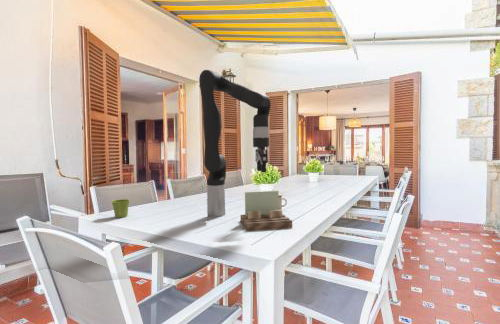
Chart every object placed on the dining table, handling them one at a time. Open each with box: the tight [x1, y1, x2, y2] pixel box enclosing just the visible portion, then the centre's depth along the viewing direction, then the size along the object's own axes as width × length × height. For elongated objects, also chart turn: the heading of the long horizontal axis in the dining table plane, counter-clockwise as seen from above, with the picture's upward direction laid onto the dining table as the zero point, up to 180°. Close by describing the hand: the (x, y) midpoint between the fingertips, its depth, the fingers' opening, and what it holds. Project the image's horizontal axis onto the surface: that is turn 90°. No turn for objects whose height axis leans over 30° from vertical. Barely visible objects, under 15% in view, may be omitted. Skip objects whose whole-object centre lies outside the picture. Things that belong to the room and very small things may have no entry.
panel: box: [244, 190, 280, 216], centre depth 141 cm, size 16×1×14 cm, turn 101°
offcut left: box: [248, 211, 261, 219], centre depth 135 cm, size 6×2×6 cm, turn 101°
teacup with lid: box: [271, 189, 288, 211], centre depth 171 cm, size 12×9×12 cm
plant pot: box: [110, 198, 131, 219], centre depth 161 cm, size 9×9×9 cm
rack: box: [240, 213, 293, 232], centre depth 136 cm, size 20×18×4 cm
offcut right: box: [269, 210, 283, 218], centre depth 137 cm, size 6×2×6 cm, turn 101°
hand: (261, 171), depth 141 cm, fingers open, 8 cm apart
